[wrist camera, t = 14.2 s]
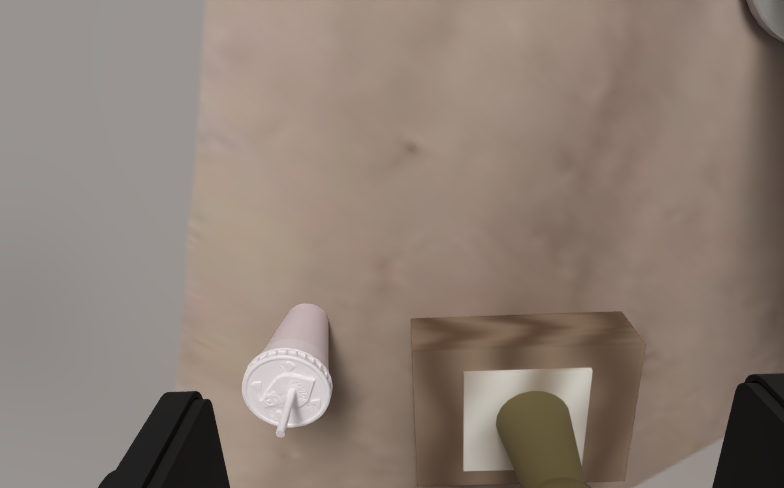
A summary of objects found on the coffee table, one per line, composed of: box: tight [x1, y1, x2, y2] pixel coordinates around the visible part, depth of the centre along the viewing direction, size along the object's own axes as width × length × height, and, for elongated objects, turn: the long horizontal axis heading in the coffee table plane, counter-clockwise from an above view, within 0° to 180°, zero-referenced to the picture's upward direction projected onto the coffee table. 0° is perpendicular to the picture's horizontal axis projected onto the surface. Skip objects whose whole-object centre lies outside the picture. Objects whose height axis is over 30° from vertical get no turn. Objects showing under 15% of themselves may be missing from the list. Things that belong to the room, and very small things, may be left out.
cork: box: [496, 391, 591, 488], centre depth 39 cm, size 6×6×11 cm
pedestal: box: [411, 312, 646, 486], centre depth 47 cm, size 18×14×5 cm
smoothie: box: [242, 304, 333, 437], centre depth 41 cm, size 6×6×14 cm
